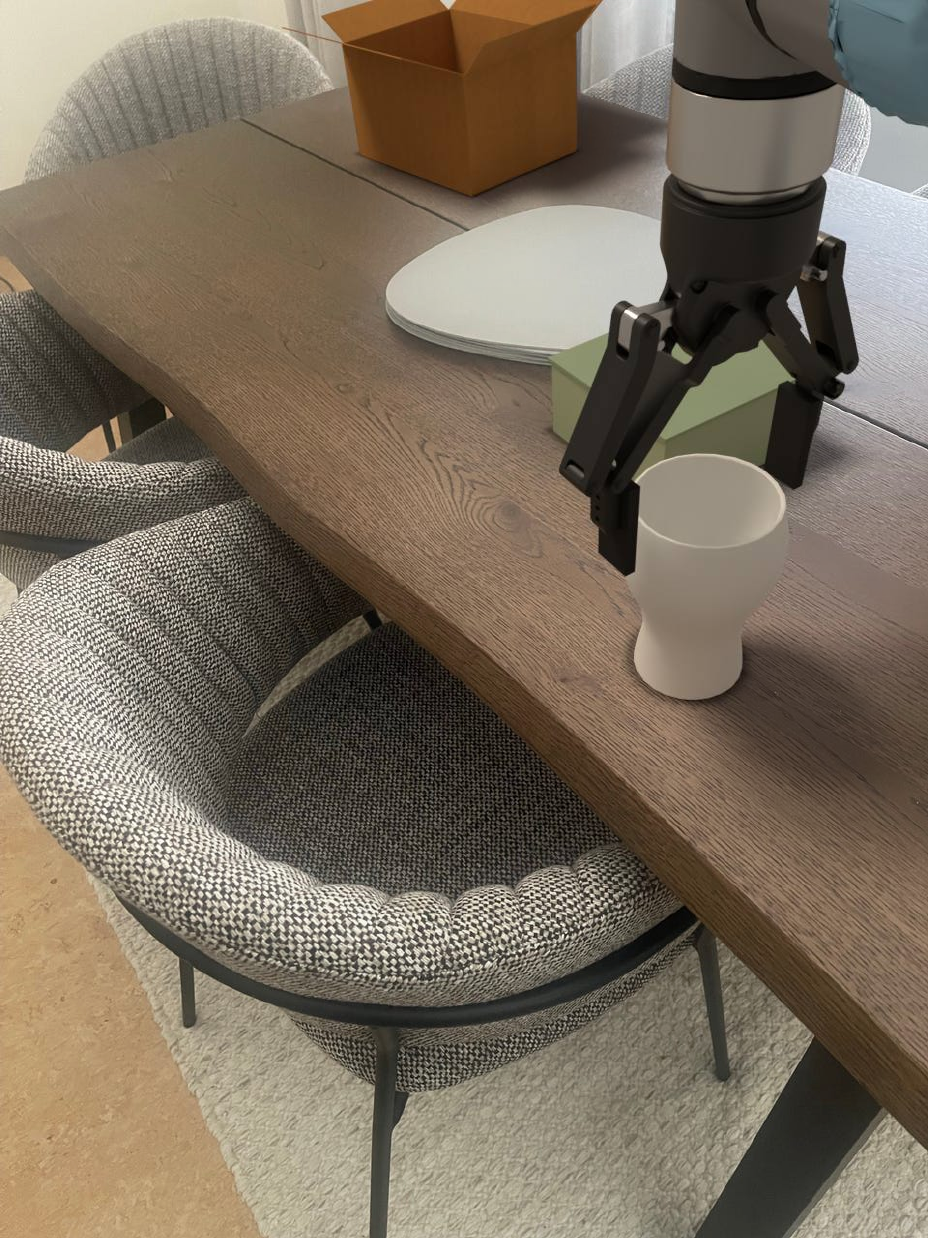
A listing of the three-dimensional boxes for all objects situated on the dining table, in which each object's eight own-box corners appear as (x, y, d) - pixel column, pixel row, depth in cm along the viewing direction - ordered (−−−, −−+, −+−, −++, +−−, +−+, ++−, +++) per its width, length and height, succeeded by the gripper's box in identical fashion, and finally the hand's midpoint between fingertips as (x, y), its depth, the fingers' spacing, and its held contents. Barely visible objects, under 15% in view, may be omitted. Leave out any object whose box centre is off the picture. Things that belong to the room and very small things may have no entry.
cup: (730, 738, 63) (760, 577, 53) (589, 683, 68) (590, 524, 57) (783, 637, 69) (819, 473, 59) (650, 592, 74) (661, 432, 63)
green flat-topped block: (801, 447, 85) (817, 369, 79) (659, 517, 80) (665, 439, 74) (682, 373, 95) (688, 299, 90) (550, 431, 90) (547, 357, 85)
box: (440, 227, 126) (421, 54, 111) (292, 165, 147) (260, 13, 133) (638, 139, 141) (645, -23, 127) (479, 95, 163) (468, -48, 148)
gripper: (872, 87, 50) (804, 420, 65) (479, 225, 43) (505, 566, 58) (994, 122, 45) (889, 472, 61) (576, 284, 38) (577, 638, 53)
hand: (702, 518), depth 59 cm, fingers open, 13 cm apart
